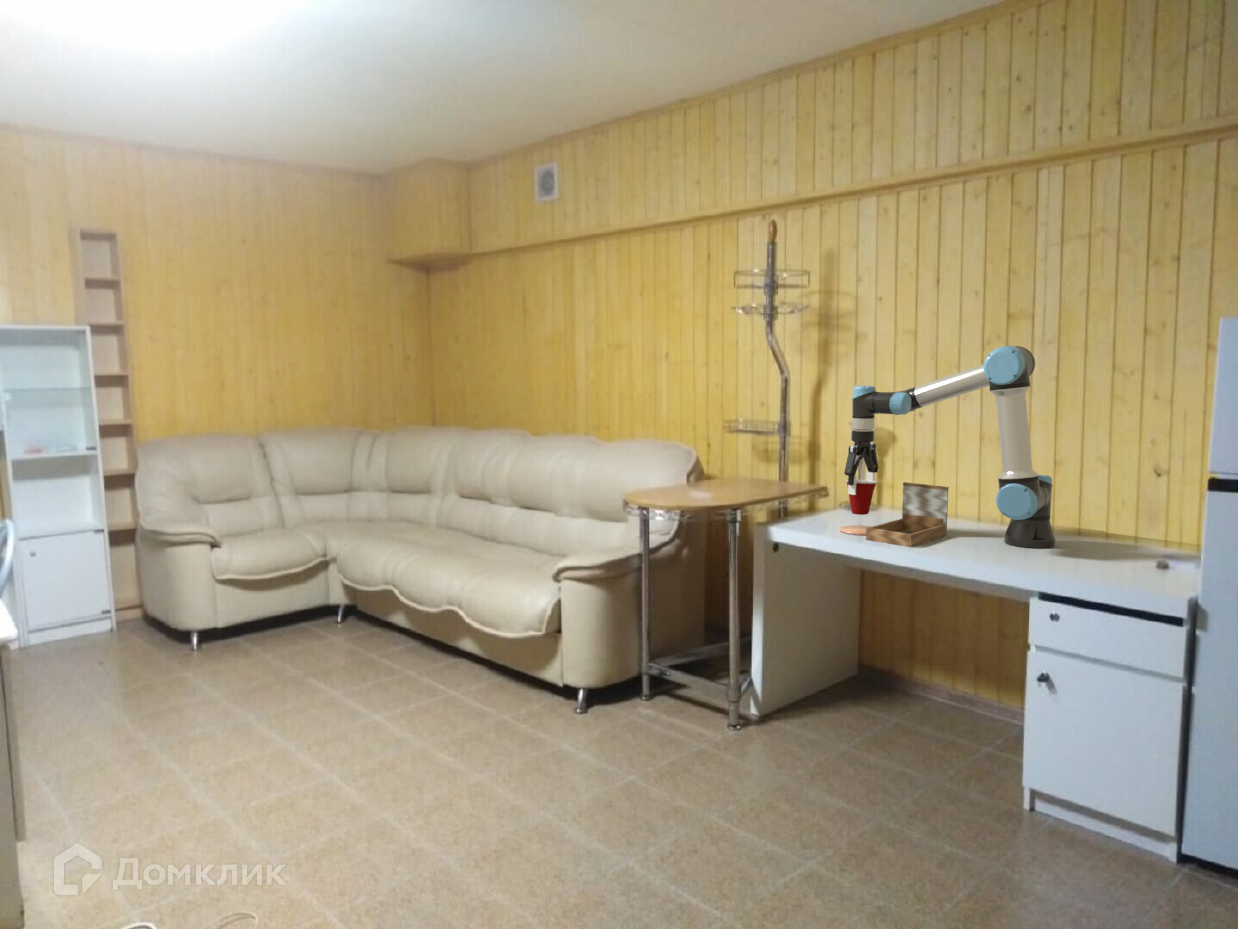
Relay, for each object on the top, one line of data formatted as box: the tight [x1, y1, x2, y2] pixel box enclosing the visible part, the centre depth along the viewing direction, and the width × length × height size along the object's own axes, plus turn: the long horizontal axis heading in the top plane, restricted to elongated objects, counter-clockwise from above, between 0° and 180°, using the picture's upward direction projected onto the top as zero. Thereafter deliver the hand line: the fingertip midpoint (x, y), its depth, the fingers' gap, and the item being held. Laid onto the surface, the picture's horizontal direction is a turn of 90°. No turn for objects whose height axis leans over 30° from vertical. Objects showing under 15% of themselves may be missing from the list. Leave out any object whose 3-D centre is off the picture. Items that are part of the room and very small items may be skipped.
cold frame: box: [865, 481, 949, 548], centre depth 300 cm, size 16×24×17 cm
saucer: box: [839, 524, 872, 537], centre depth 312 cm, size 14×14×1 cm
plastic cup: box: [845, 479, 878, 516], centre depth 311 cm, size 11×11×12 cm
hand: (861, 492), depth 310 cm, fingers closed on plastic cup, 11 cm apart
